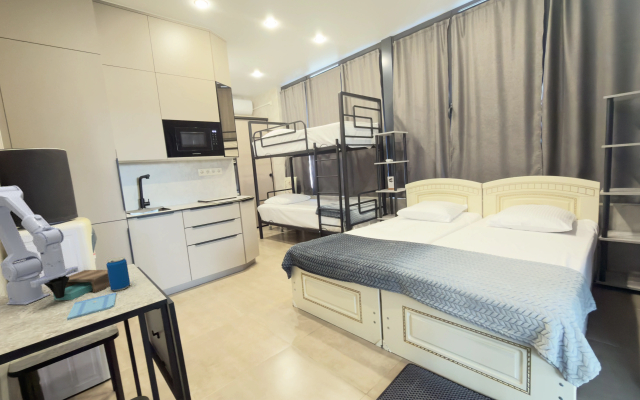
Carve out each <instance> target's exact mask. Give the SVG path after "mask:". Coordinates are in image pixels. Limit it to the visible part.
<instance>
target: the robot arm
mask: <svg viewBox="0 0 640 400" xmlns="http://www.w3.org/2000/svg"><path fill="white" fill-rule="evenodd" d="M11 212H13V214H15V215H16V216H18V218H20V219H21V220H22V221H21V226H22V227H23V228H24V229H25V230H26V231H27V232H28V234H30V235H31V236H32V244H33V245H34V246H35V248H36V250H37V252H35V251H31V250H28V249H27V247H26V245H25V243H24V240H23V239H22V237H21V234H20V232H19V230H18V227H17V225H16V223H15V221H14V219H13V217H12V215H11ZM64 239H65V237H64V232H63V231H62V230H61V229H60V228H58V227H55V226H51V225H50V224H49V223H48V222H47V221H46V220H45V218H43V216H42V215H40V214H35V213H34V212H33V211H32V209H31V208H30V207H29V205H28V204H27V203H26V202H25V200H24V192H23V191H22V189H21V188H20V187H19V186H18V185H8V186H0V242H1V244H2V246H3V249H4V250H5V253H6V255H7V256H6V257H5V259H3V260H2V262H0V267H1V274H2V276H3V278H4V279H5V280H6V281H8V282H7V283H6V293H7V298H8V302H6V305H18V306H19V305H29V304H31V303H34V302H36V301H38V300H42V299H43V298H46V297H48V296H50V295H51V294H50V293H44V291H43V286H42V285H45V286H46V287H47V288H48V289H49V290H50V291H51V293H52V295H53V294H54V295H55V297H56V298H62V297H64V293H65V288H66V285H67V282H68V280H69V276H70V275H72V274H75V273H78V272H79V267H78V266H72V267H69V268H66V266H65V261H64V255H63V249H62V245H61V244H62V243H63V241H64ZM38 253H39V254H38ZM39 255H40V256H39ZM42 271H43V275H42ZM40 275H42V276H41V277H40ZM54 295H53V296H54Z"/></svg>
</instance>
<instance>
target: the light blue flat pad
mask: <svg viewBox="0 0 640 400" xmlns="http://www.w3.org/2000/svg"><path fill="white" fill-rule="evenodd" d="M116 299H117V292H113V293H108V294H104V295H100V296H95V297H92V298H87V299H84V300H80V301H76V302H74V304H73V306H72V308H71V310H70V311H69V313H68V315H67V318H66V320H67V321H70V320H74V319H77V318H82V317H84V316H89V315H92V314H96V313H99V311H100V312H103V311H106V310H109V309H110V310H111V309H112V308H114V307H115V303H116Z"/></svg>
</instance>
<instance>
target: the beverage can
mask: <svg viewBox="0 0 640 400" xmlns="http://www.w3.org/2000/svg"><path fill="white" fill-rule="evenodd" d="M105 265H106V270H107V271H108V277H109V283H110V286H109V289H110V290H111V291H113V292H118V291H122V290H126V289H127V288H129V286H130V285H131V281H130V280H131V279H130V274H129V269H128V262H127V259H126V258H125V257H124V256H120V257H114V258H111V259H108V260H107V261H106V264H105Z"/></svg>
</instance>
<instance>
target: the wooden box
mask: <svg viewBox="0 0 640 400" xmlns="http://www.w3.org/2000/svg"><path fill="white" fill-rule="evenodd" d="M68 276H69V280H68V282H67V285H66V288H67V287H70V286H72V285H75V284H77V283H79V282H91V283H92V288H93V290H92V293H94V294H95V293H99V292H102V291H103V290H105V289H107V288H110V283H109V277H108V271H107V269H84V270H82V271H78V272H75V273H72V274H70V275H68Z"/></svg>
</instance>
